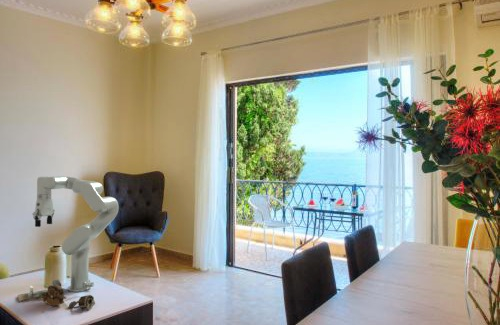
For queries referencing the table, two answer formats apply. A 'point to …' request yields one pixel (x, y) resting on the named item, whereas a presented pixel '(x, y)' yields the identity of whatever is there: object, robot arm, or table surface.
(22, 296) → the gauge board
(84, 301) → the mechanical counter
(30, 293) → the plunger
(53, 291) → the wooden carving
